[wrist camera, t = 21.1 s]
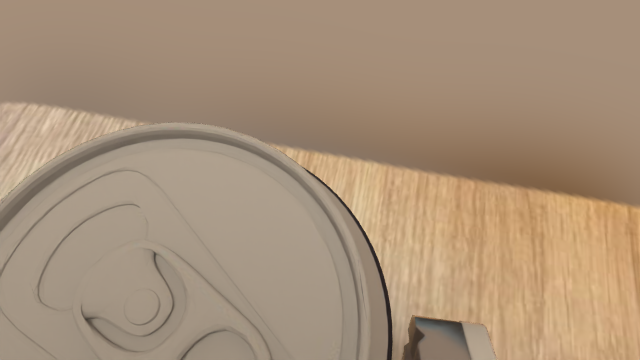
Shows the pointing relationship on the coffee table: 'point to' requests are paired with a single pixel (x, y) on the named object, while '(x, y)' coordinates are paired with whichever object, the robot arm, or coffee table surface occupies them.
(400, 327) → the coffee table surface
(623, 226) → the coffee table surface
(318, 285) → the beverage can
